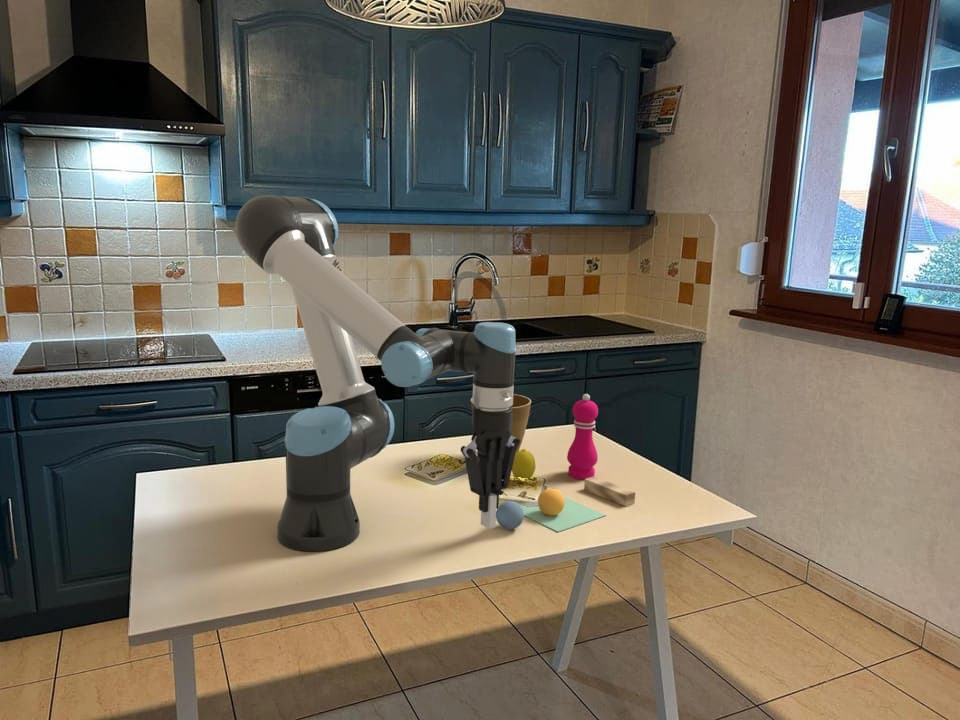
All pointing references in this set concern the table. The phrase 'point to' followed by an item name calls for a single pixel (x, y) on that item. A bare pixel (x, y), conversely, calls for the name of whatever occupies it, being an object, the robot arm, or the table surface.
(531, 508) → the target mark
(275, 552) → the table surface
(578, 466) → the pepper mill
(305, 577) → the table surface
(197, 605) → the table surface
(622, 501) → the bar
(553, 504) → the orange ball
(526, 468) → the lemon
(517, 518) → the blue ball
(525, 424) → the plant pot
